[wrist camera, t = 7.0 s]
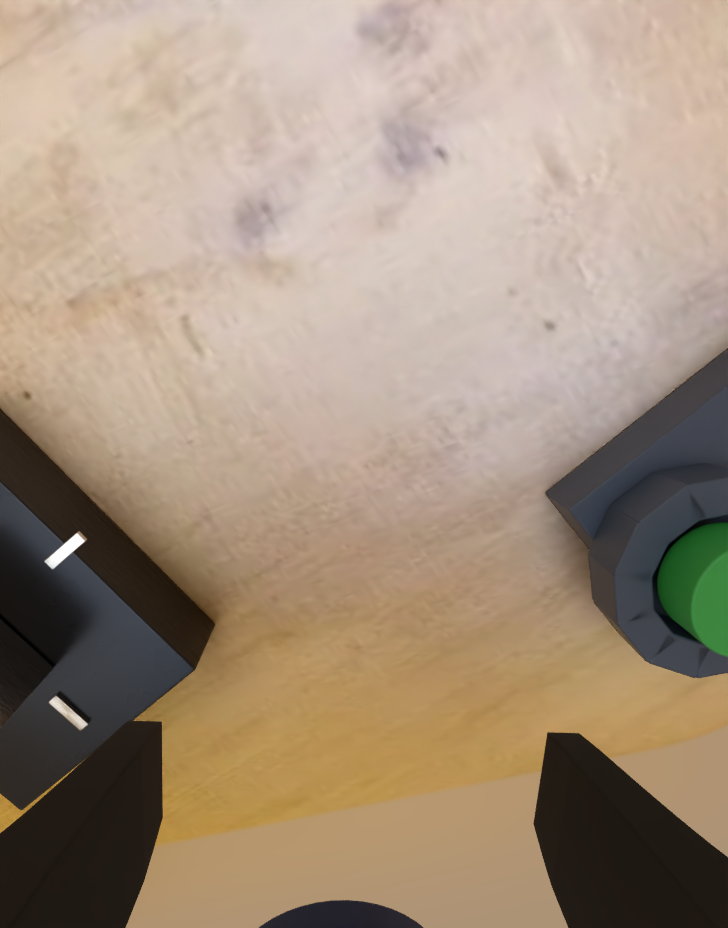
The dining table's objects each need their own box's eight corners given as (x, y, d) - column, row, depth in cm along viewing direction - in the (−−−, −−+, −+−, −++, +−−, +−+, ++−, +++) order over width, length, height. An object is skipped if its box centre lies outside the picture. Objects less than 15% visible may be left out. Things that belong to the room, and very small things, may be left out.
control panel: (53, 757, 21) (5, 826, 18) (-179, 556, 19) (-278, 596, 16) (227, 614, 21) (208, 661, 17) (3, 387, 18) (-63, 395, 15)
